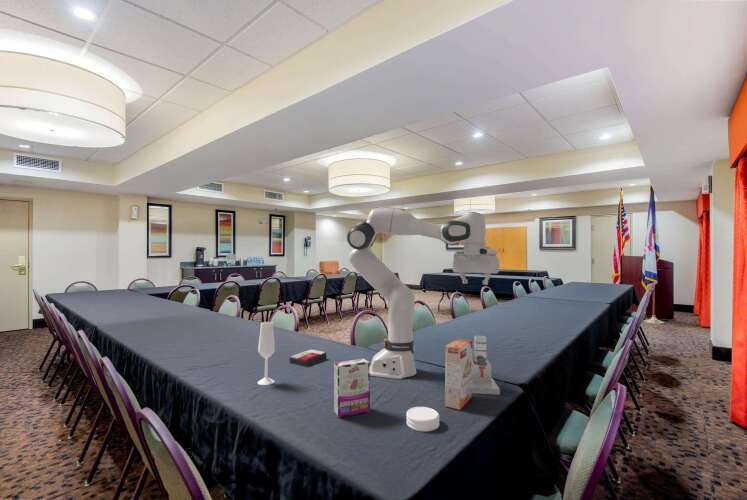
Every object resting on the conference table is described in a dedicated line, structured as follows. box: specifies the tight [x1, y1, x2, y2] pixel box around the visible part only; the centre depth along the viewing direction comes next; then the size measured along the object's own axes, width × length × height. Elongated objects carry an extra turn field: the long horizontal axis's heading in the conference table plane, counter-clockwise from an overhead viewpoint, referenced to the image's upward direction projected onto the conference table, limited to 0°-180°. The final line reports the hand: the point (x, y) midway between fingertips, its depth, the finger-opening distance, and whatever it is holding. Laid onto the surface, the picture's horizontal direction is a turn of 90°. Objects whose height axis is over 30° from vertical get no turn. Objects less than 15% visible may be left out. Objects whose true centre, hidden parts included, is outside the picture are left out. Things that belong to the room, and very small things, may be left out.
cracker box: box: [444, 338, 474, 411], centre depth 121 cm, size 14×6×21 cm, turn 148°
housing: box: [472, 358, 501, 396], centre depth 135 cm, size 12×12×12 cm
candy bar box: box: [333, 358, 371, 418], centre depth 113 cm, size 11×5×16 cm, turn 113°
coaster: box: [405, 406, 440, 432], centre depth 105 cm, size 10×10×4 cm
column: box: [473, 335, 488, 364], centre depth 135 cm, size 4×4×20 cm
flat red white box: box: [289, 349, 327, 367], centre depth 170 cm, size 11×4×15 cm
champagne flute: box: [257, 321, 276, 386], centre depth 141 cm, size 7×7×24 cm
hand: (474, 284), depth 143 cm, fingers open, 8 cm apart
